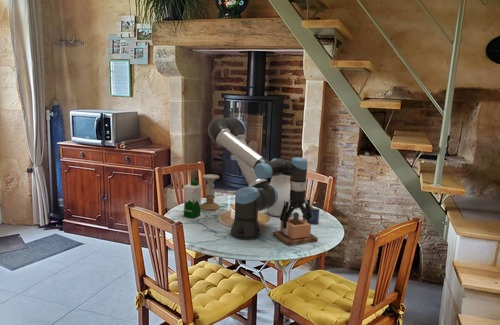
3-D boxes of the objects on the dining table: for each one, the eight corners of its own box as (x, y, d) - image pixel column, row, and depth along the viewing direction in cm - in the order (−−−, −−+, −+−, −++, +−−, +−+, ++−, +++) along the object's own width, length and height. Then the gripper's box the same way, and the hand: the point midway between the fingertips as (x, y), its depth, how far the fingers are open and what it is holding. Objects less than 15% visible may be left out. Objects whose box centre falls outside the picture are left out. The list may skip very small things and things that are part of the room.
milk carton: (202, 215, 217) (203, 181, 213) (194, 219, 208) (195, 184, 205) (189, 212, 220) (190, 179, 216) (181, 217, 212) (181, 182, 208)
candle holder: (195, 208, 229) (196, 176, 226) (208, 203, 239) (208, 173, 236) (211, 212, 223) (212, 179, 219) (223, 207, 233) (224, 175, 230)
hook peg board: (287, 246, 177) (289, 218, 174) (272, 235, 190) (273, 209, 188) (317, 241, 184) (319, 215, 182) (300, 231, 197) (302, 206, 195)
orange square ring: (292, 238, 179) (293, 226, 178) (280, 230, 190) (280, 219, 189) (310, 236, 184) (311, 224, 182) (296, 228, 194) (297, 217, 193)
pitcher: (286, 219, 215) (289, 172, 210) (259, 214, 222) (262, 168, 217) (299, 209, 236) (302, 166, 231) (274, 205, 243) (277, 163, 238)
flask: (318, 223, 211) (320, 205, 209) (317, 225, 208) (319, 206, 206) (302, 221, 214) (303, 203, 212) (301, 222, 211) (302, 204, 210)
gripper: (281, 193, 175) (279, 238, 178) (321, 189, 184) (318, 232, 188) (273, 189, 181) (271, 233, 185) (312, 186, 191) (309, 227, 195)
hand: (295, 233), depth 187 cm, fingers closed on orange square ring, 10 cm apart
